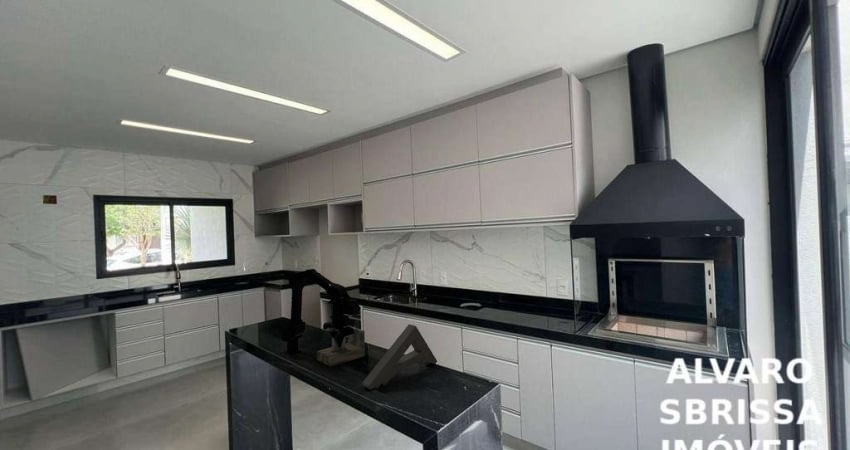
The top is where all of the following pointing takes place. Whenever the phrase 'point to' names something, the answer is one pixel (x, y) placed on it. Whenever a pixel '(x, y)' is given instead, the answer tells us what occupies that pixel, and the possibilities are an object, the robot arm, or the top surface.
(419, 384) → the top surface
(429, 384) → the top surface
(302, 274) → the robot arm
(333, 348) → the bracket plate
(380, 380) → the wall bracket
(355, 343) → the post base
